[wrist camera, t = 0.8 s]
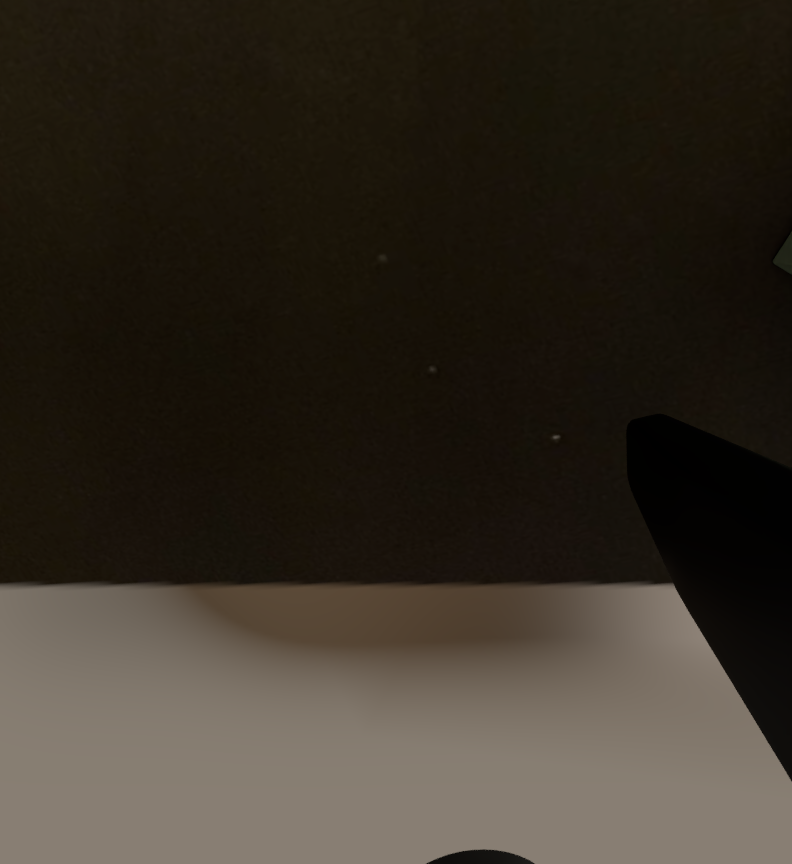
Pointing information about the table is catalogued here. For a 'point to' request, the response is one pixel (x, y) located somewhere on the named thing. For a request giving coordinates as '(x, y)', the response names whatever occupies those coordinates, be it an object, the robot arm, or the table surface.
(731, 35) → the table surface
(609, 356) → the table surface
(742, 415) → the table surface
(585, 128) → the table surface
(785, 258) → the scale
